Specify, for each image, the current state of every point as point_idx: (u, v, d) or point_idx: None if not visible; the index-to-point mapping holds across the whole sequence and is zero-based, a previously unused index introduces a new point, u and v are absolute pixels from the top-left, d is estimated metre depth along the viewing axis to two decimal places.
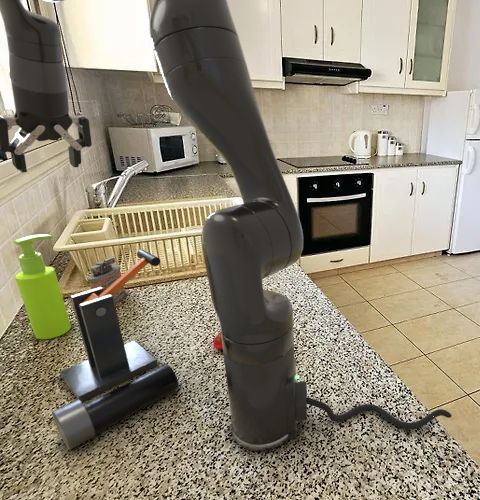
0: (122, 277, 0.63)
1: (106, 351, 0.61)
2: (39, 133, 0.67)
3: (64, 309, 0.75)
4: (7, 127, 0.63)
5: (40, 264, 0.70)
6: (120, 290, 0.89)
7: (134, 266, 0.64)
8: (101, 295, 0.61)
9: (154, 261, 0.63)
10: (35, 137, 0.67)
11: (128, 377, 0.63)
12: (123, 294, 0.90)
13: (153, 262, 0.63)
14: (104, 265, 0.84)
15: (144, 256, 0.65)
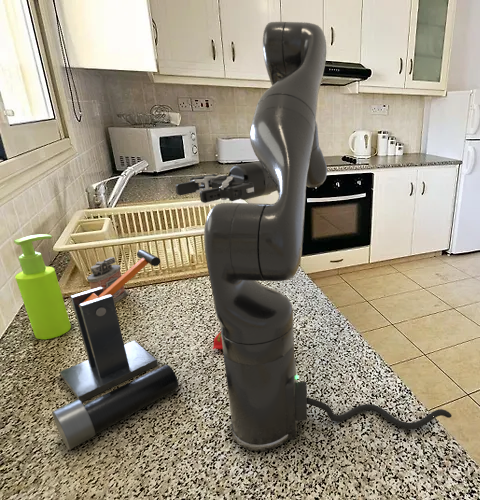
0: (122, 277, 0.63)
1: (106, 351, 0.61)
2: (218, 176, 0.77)
3: (64, 309, 0.75)
4: (211, 175, 0.81)
5: (40, 264, 0.70)
6: (120, 290, 0.89)
7: (134, 266, 0.64)
8: (101, 295, 0.61)
9: (154, 261, 0.63)
10: (213, 177, 0.77)
11: (128, 377, 0.63)
12: (123, 294, 0.90)
13: (153, 262, 0.63)
14: (104, 265, 0.84)
15: (144, 256, 0.65)
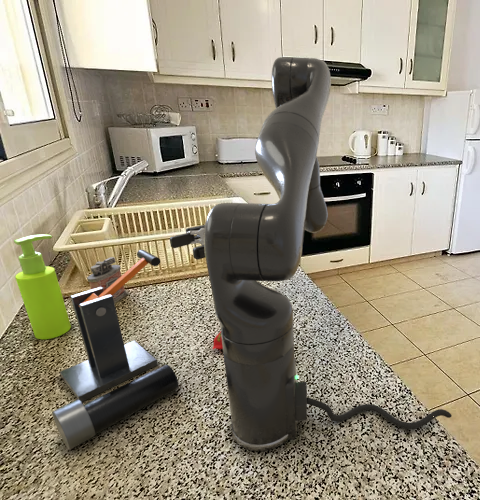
0: (122, 277, 0.63)
1: (106, 351, 0.61)
2: None
3: (64, 309, 0.75)
4: None
5: (40, 264, 0.70)
6: (120, 290, 0.89)
7: (134, 266, 0.64)
8: (101, 295, 0.61)
9: (154, 261, 0.63)
10: None
11: (128, 377, 0.63)
12: (123, 294, 0.90)
13: (153, 262, 0.63)
14: (104, 265, 0.84)
15: (144, 256, 0.65)
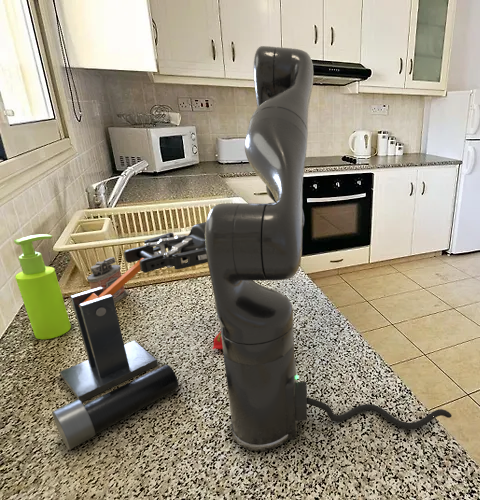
0: (122, 277, 0.63)
1: (106, 351, 0.61)
2: (176, 237, 0.70)
3: (64, 309, 0.75)
4: (168, 235, 0.73)
5: (40, 264, 0.70)
6: (120, 290, 0.89)
7: (134, 266, 0.64)
8: (101, 295, 0.61)
9: None
10: (170, 238, 0.70)
11: (128, 377, 0.63)
12: (123, 294, 0.90)
13: None
14: (104, 265, 0.84)
15: (144, 256, 0.65)
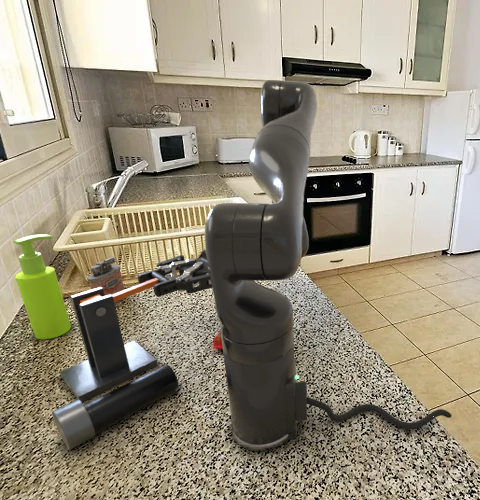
0: (131, 288, 0.64)
1: (106, 351, 0.61)
2: (187, 260, 0.73)
3: (64, 309, 0.75)
4: (179, 258, 0.76)
5: (40, 264, 0.70)
6: (120, 290, 0.89)
7: (146, 282, 0.66)
8: None
9: None
10: (181, 261, 0.73)
11: (128, 377, 0.63)
12: None
13: None
14: (104, 265, 0.84)
15: (158, 277, 0.67)
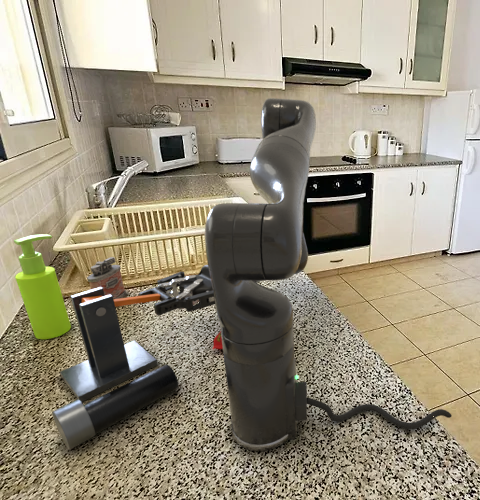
0: (133, 298, 0.65)
1: (106, 351, 0.61)
2: (187, 277, 0.74)
3: (64, 309, 0.75)
4: (179, 274, 0.77)
5: (40, 264, 0.70)
6: (120, 290, 0.89)
7: (148, 295, 0.67)
8: None
9: None
10: (182, 278, 0.74)
11: (128, 377, 0.63)
12: (123, 294, 0.90)
13: None
14: (104, 265, 0.84)
15: (161, 293, 0.69)
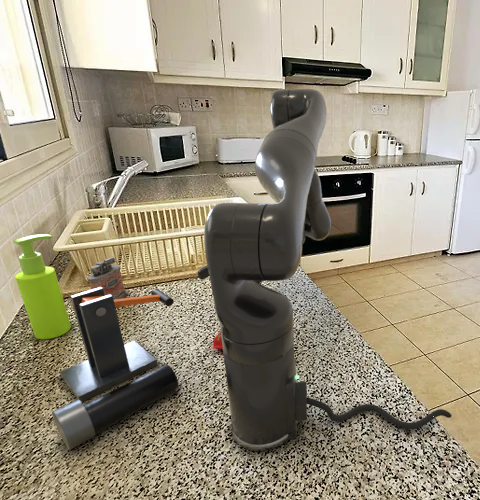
0: (133, 298, 0.65)
1: (106, 351, 0.61)
2: None
3: (64, 309, 0.75)
4: None
5: (40, 264, 0.70)
6: (120, 290, 0.89)
7: (148, 296, 0.67)
8: None
9: (169, 301, 0.67)
10: None
11: (128, 377, 0.63)
12: (123, 294, 0.90)
13: (167, 301, 0.67)
14: (104, 265, 0.84)
15: (161, 294, 0.69)
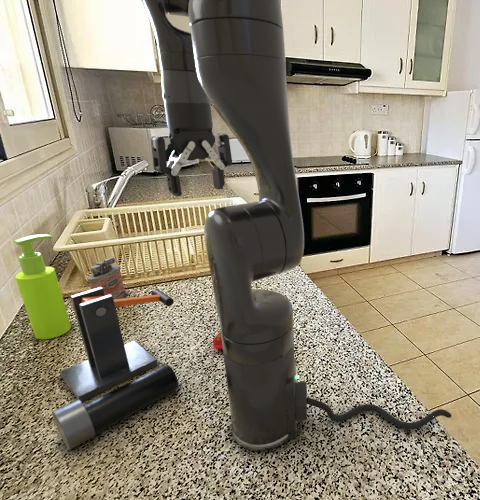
0: (133, 298, 0.65)
1: (106, 351, 0.61)
2: (190, 150, 0.66)
3: (64, 309, 0.75)
4: (164, 146, 0.63)
5: (40, 264, 0.70)
6: (120, 290, 0.89)
7: (148, 296, 0.67)
8: None
9: (169, 301, 0.67)
10: (187, 155, 0.66)
11: (128, 377, 0.63)
12: (123, 294, 0.90)
13: (167, 301, 0.67)
14: (104, 265, 0.84)
15: (161, 294, 0.69)
